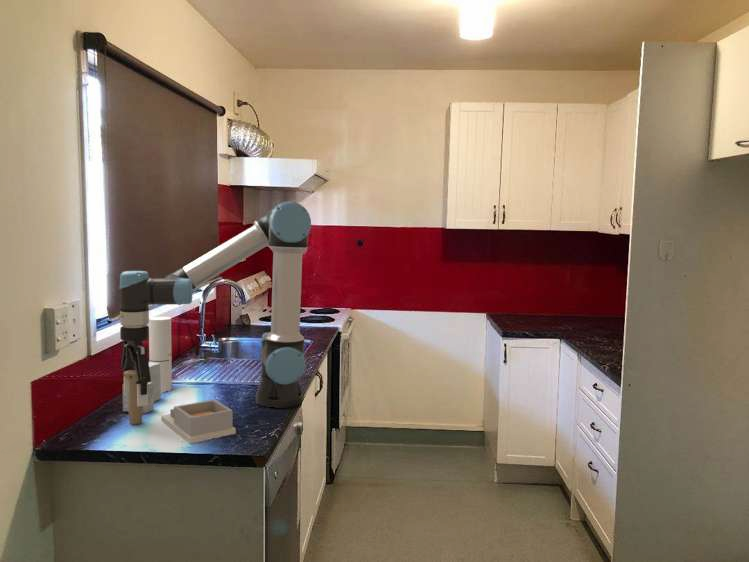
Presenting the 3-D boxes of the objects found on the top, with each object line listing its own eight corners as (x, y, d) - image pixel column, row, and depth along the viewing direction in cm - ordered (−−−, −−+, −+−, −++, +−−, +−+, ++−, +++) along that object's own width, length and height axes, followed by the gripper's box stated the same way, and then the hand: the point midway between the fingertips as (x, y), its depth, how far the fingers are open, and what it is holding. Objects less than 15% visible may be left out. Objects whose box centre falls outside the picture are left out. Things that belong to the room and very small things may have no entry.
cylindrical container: (175, 387, 205) (175, 317, 202) (164, 393, 198) (164, 320, 195) (156, 386, 206) (156, 316, 204) (145, 392, 199) (144, 319, 197)
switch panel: (203, 412, 180) (203, 391, 179) (235, 433, 162) (235, 410, 162) (161, 420, 171) (161, 398, 171) (190, 443, 154) (189, 419, 154)
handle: (130, 419, 172) (129, 369, 170) (150, 421, 171) (150, 370, 169) (120, 425, 167) (120, 373, 165) (141, 426, 166) (141, 375, 164)
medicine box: (154, 409, 181) (153, 382, 180) (145, 414, 177) (145, 386, 176) (131, 407, 183) (131, 380, 182) (122, 411, 179) (121, 383, 178)
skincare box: (150, 397, 193) (149, 361, 192) (161, 398, 192) (160, 362, 191) (137, 402, 187) (137, 366, 186) (149, 404, 186) (148, 367, 185)
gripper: (108, 320, 173) (110, 391, 175) (134, 333, 154) (135, 413, 156) (135, 318, 178) (136, 388, 180) (162, 331, 159) (163, 408, 161)
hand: (135, 400), depth 168 cm, fingers open, 12 cm apart
